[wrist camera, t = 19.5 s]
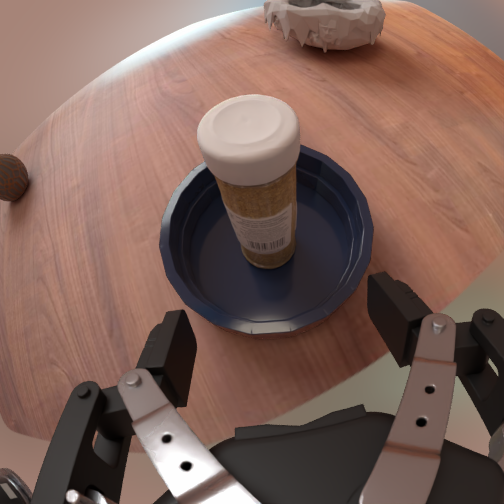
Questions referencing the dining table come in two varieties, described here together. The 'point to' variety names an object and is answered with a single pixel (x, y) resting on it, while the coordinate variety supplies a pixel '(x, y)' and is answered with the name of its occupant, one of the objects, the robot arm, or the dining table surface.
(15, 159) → the vase
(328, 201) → the pan
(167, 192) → the dining table surface
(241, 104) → the sprinkles bottle
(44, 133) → the dining table surface
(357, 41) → the bowl
